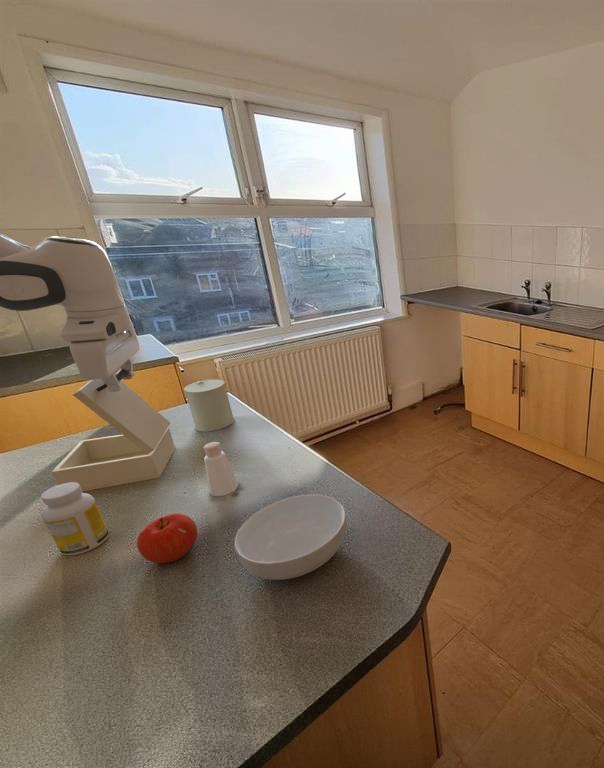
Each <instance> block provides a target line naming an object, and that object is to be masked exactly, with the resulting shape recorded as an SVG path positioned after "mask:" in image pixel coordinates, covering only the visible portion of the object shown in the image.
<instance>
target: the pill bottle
mask: <svg viewBox="0 0 604 768" xmlns="http://www.w3.org/2000/svg"><path fill="white" fill-rule="evenodd" d="M40 498H41V501H42V503H43V504H44V505H45V507H44V508H43V510H42V512H41V517H42V519H43V521H44V524H45V525H46V528H47V529H48V531H49V533H50V535H51V537H52V539H53V541H54V543H55V544H56V547H57V548H58V550H59V552H60V553H61V554H62V555H65V556H75V555H81V554H84V553H87V552H89V551H91V550H94V549H96V548H98V547H99V546H100V545H101V544H103V543H105V541H106V540H107V539H108V537H109V534H110V533H109V529H108V526H107V525H106V522H105V520H104V517H103V515H102V512H101V511H100V508H99V506H98V504H97V503H96V500H95V498H94V497H93V495H91V494H89V493H86V492H82V489H81V487H80V485H79V484H78V483H75V482H70V483H64V484H60V485H57V484H56V485H55V486H51V487H50V488H48V489H47V490H45V491H44V492H43V493H42V494H41V496H40Z"/></svg>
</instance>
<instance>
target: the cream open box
mask: <svg viewBox="0 0 604 768" xmlns="http://www.w3.org/2000/svg"><path fill="white" fill-rule="evenodd" d="M175 450H176V446H175V442H174V439H173V437H172V434H171V430H170V427H168V428H167V430H166V431H165V433H164V434H163V436H162V438H161V439H160V441H159V443H158V444H157V446H156V448H155V449H154V450H153V451H152V452H150V453H148V454H147V453H146V452H144V451H143V450H142V449H141V448H139V447H138V446H137V445H136V444H134V443H133V442H132V441H130V440H129V439H128V438H127V437H125V436H124V435H123V434H122V433H121V434H116V435H110V436H103V437H102V436H101V437H97V438H89V439H83V440H80V441H78V443H77V444H76V445H75V446H74V447H73V448H72V449H71V450H70V451H69V453H68V454H67V455H66V456H65V457H64V458H63V459H61V461H60V462H59V463H58V464H57V465H56V466H55V467H54V468H53V469H52V471H51V474H52V477H53V479H54V482H55V483H56V486H57V485H60V484H64V483H70V482H75V483H78V484H79V485H80V487H81V489H82V493H84V492H89V491H93V490H99V489H104V488H111V487H115V486H121V485H122V486H123V485H127V484H131V483H138V482H143V481H148V480H154V479H160V478H161V476H162V474H163V472H164V470H165V469H166V467H167V465H168V463H169V462H170V459H171V457H172V456H173V453H175V452H174V451H175Z"/></svg>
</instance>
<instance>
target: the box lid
mask: <svg viewBox="0 0 604 768" xmlns="http://www.w3.org/2000/svg"><path fill="white" fill-rule="evenodd" d="M115 372H116V378H117V380H118V381H120V382H121V385H122V389H121V390H120V391H118V392H110V391H109V389H108V387H107V385H106V384H105V383H104V382H103V381H102V380H101V379H96V380H87V382H85V384H83V385H82V386H81V387H80V388H78V389H77V390H76V391H75V392H73V394H72V396H73V397H74V398H75V399H77V400H78V401H80V402H81V403H82V404H83V405H84V406H86V407H87V408H88V409H90V410H91V411H92V412H93V413H94V414H96V415H97V416H98V417H100V418H101V419H102V420H103V421H105V422H106V423H107V424H109V425H110V426H111V427H113V428H114V429H115V430H116V431H118V432H119V433H120V434H121V435H122V434H123V435H124V436H125V437H127V438H128V439H129V440H130V441H132V442H133V443H134V444H136V445H137V446H138V447H139V448H141V449H142V450H143V451H144V452H146V453H147V454H148V453H150V452H152V451H153V450H154V449H155V448H156V446H157V444H158V443H159V441H160V439H161V438H162V436H163V434H164V433H165V431H166V430H167V428H169V426H170V425H171V422H170V421H169V420H168V419H166V417H164V416H163V414H161V413H160V412H159V411H157V410H156V409H155V408H154V407H153V406H152V405H150V404H149V403H148V402H147V401H146V400H145V399H144V398H142V396H140V395H139V394H138V393H136V392H135V391H134V390H133V389H132V388H131V387H129V385H127V384H126V383H125V382H124V381H123V380H124V379H123V378H124V377H125V376H126V375H127V371H126V370H125V369H121V368H119V369H117V370H116V371H115Z"/></svg>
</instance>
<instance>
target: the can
mask: <svg viewBox="0 0 604 768" xmlns="http://www.w3.org/2000/svg"><path fill="white" fill-rule="evenodd" d="M183 391H184V395H185V397H186V401H187V403H188V407H189V409H190V414H191V417H192V420H193V424H194V429H195V430H196V431H198V432H202V433H203V432H204V433H205V432H214V431H218V430H222V429H225V428H227V427H229V426H231V425H232V424H234V422H235V417H234V414H233V410H232V408H231V403H230V400H229V395H228V392H227V391H228V390H227V388H226V382H225V380H223V379H219V378H209V379H203V380H198V381H195V382H192V383H189V384H187V385H186V386H184V387H183Z"/></svg>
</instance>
